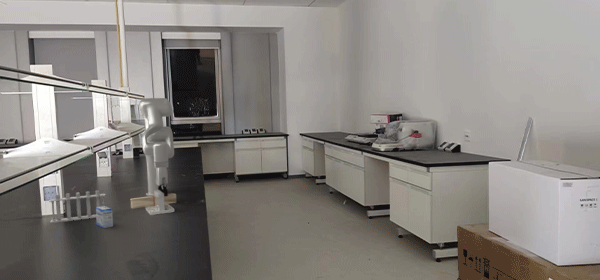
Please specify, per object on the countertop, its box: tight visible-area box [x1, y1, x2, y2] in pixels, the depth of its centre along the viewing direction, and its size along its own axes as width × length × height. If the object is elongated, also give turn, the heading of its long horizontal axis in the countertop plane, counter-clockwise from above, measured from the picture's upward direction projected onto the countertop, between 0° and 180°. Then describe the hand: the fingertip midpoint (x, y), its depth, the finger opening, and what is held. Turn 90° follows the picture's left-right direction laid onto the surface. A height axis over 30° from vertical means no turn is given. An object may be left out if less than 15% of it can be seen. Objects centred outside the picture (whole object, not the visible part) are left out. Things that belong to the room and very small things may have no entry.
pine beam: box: [129, 192, 177, 210], centre depth 244 cm, size 4×24×5 cm, turn 123°
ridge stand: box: [145, 190, 175, 216], centre depth 230 cm, size 14×12×10 cm
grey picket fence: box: [48, 190, 106, 224], centre depth 217 cm, size 25×4×13 cm, turn 117°
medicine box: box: [95, 205, 114, 229], centre depth 203 cm, size 8×4×9 cm, turn 47°
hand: (163, 195), depth 246 cm, fingers open, 9 cm apart
